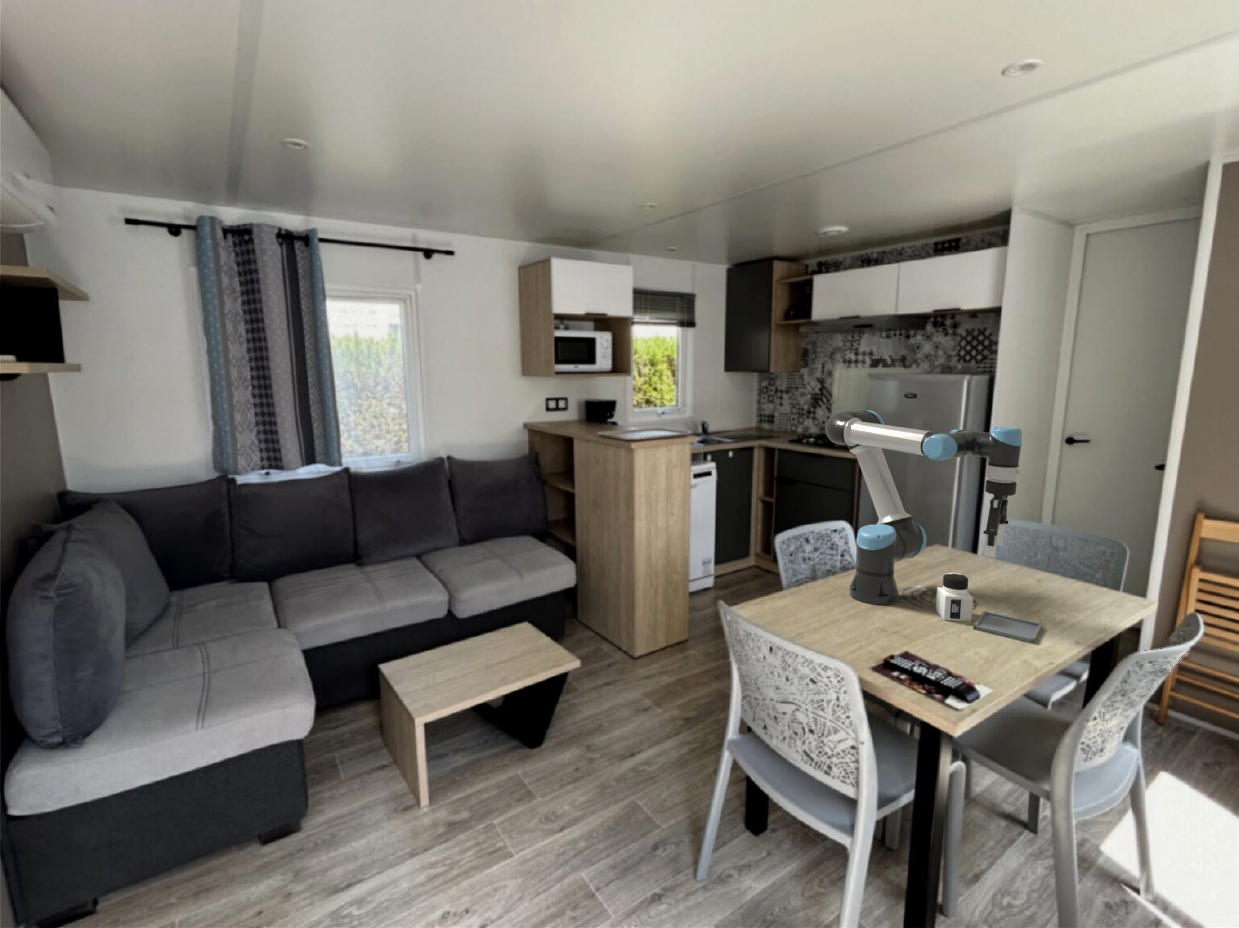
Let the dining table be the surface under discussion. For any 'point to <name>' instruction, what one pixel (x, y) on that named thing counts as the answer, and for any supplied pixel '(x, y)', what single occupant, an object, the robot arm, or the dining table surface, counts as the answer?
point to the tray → (1008, 627)
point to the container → (954, 598)
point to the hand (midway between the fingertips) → (993, 550)
